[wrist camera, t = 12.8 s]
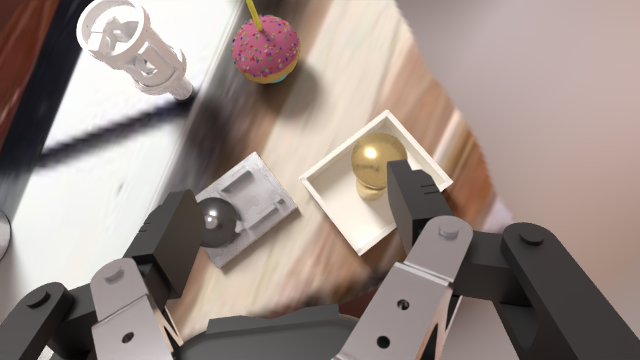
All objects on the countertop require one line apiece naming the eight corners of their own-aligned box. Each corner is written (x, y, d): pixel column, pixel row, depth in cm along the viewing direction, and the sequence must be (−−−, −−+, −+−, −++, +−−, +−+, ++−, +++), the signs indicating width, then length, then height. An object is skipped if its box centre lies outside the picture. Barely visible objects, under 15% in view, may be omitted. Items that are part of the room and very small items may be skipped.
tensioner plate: (221, 267, 40) (209, 269, 37) (183, 210, 42) (169, 207, 39) (298, 207, 41) (293, 204, 37) (257, 153, 43) (249, 146, 39)
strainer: (153, 110, 45) (57, 46, 31) (164, 64, 47) (78, -18, 32) (200, 115, 44) (125, 52, 30) (211, 68, 46) (143, -14, 31)
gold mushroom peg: (367, 212, 39) (374, 197, 26) (344, 183, 40) (339, 154, 27) (398, 189, 39) (419, 163, 26) (373, 160, 40) (383, 121, 27)
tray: (358, 255, 39) (359, 256, 35) (303, 183, 41) (298, 177, 38) (444, 187, 39) (453, 182, 36) (384, 120, 42) (387, 109, 38)
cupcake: (241, 47, 46) (202, -20, 34) (299, 34, 45) (280, -40, 34) (249, 102, 44) (211, 52, 32) (310, 89, 44) (294, 32, 32)
